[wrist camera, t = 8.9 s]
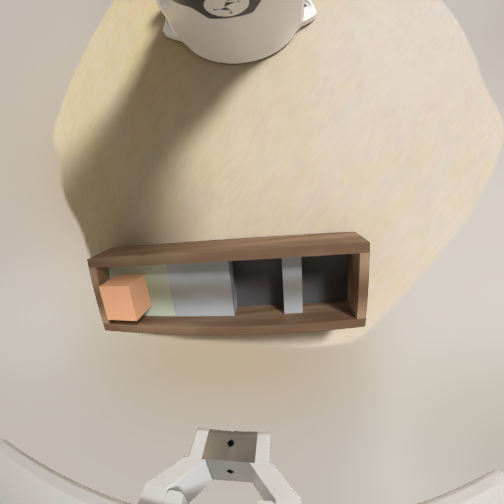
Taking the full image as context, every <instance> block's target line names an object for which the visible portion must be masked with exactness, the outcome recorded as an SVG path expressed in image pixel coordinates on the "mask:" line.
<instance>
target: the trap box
mask: <svg viewBox="0 0 504 504" xmlns="http://www.w3.org/2000/svg"><path fill="white" fill-rule="evenodd" d="M369 259H370V242H369V241H367V240H366V239H364V238H363V237H362V236H360V235H359V234H357V233H356V232H341V233H323V234H305V235H288V236H272V237H256V238H240V239H225V240H211V241H197V242H183V243H170V244H157V245H144V246H132V247H119V248H110V249H108V250H106V251H104V252H102V253H100V254H98V255H96V256H94V257H92V258H90V259H88V260H87V261H88V265H89V270H90V275H91V279H92V283H93V288H94V292H95V295H96V299H97V303H98V307H99V310H100V314H101V317H102V321H103V324H104V327H105V330H109V331H122V332H136V333H155V334H182V335H249V334H277V333H296V332H311V331H324V330H335V329H346V328H355V327H364V326H365V322H366V311H367V298H368V282H369ZM126 274H145V278H146V283H147V288H148V293H149V297H150V302H151V307H150V308H149V309H148V310H147V311H146V312H145V313H144V314H143V315H142V316H141V317H140V319H139V320H138V321H123V320H108V318H107V315H106V311H105V308H104V304H103V301H102V297H101V293H100V289H99V286H100V285H102V284H103V283H105V282H106V281H108V280H109V279H111V278H113V277H114V276H116V275H126Z"/></svg>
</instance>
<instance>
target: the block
mask: <svg viewBox="0 0 504 504" xmlns="http://www.w3.org/2000/svg"><path fill="white" fill-rule="evenodd" d="M99 289H100V293H101V297H102V301H103V304H104V308H105V311H106V315H107V318H108V320H123V321H138V320H139V319H140V317H141V316H142V315H143V314H144V313H145V312H146V311H147V310H148V309H149V308H150V307H151V302H150V297H149V293H148V288H147V283H146V278H145V274H126V275H116V276H114V277H113V278H111V279H109V280H108V281H106V282H105V283H103V284H102V285H100V286H99Z"/></svg>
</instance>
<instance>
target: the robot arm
mask: <svg viewBox="0 0 504 504" xmlns="http://www.w3.org/2000/svg"><path fill="white" fill-rule="evenodd" d="M157 4H158V6H159V8H160V9H161V11H162V13H163V14H164V16H165V18H166V19H165V23H164V26H163V32H164V34H165V36H166V37H168V38H170V39H174V40H177V41H181V42H183V43H184V44H186V45H187V46H188V47H189V48H190V49H191V50H192V51H193V52H194V53H196V54H197V55H199V56H201V57H203V58H205V59H208V60H211V61H214V62H219V63H228V64H237V63H247V62H252V61H256V60H260V59H263V58H265V57H268V56H270V55H272V54H274V53H276V52H277V51H279V50H280V49H282V48H283V47H284V46H285V45H286V44H287V43H288V42H289V41H290V40H291V39H292V38H293V36H294V35H295V33H296V32H297V31H298V29H300V28H301V27H303V26H305V25H307V24H308V23H310V22H312V21H313V20H314V19H315V18H316V9H315V7H314V5H313V3H312V2H311V0H157ZM304 6H305V7H304ZM212 479H216V480H229V481H241V482H253V484H254V486H255V487H256V489H257V490H258V492H259V493H260V495H261V496H262V498H263V500H264V501H259V502H257V503H256V504H301V499H300V497H299V496H298V495H297V494H296V493H295V491H294V490H293V489H292V488H291V487H290V485H289V484H288V483H287V482H286V480H285V479H284V478H283V477H282V475H281V474H280V473H279V471H278V470H277V469H276V468H275V467H274V465H273V464H272V463H271V433H270V432H242V431H241V432H240V431H234V432H232V431H221V430H211V429H202V428H199V429H198V430H197V431H196V434H195V437H194V441H193V444H192V447H191V450H190V453H189V456H188V457H186V456H185V457H184V458H182V459H181V460H179V461H178V462H177V463H175V464H174V465H172V466H171V467H170V468H168V469H167V470H165V471H164V472H162V473H161V474H159V475H158V476H157V477H155V478H153V479H152V480H150V481H149V482H147V483H146V485H145V488H144V490H143V493H142V495H141V497H140V500H139V502H138V504H189V502H190V501H191V500H192V499H193V498H195V497H196V496H197V495H198V494H199V493H200V492H201V491H202V490H203V489H204V488H205V487H206V486H207V485H208V484H209V483H210V482H211V481H212ZM0 504H130V503H127V502H124V501H121V500H118V499H115V498H113V497H110V496H107V495H105V494H102V493H100V492H98V491H95V490H92V489H90V488H88V487H86V486H84V485H81V484H79V483H77V482H75V481H73V480H71V479H69V478H67V477H65V476H63V475H61V474H59V473H57V472H56V471H54V470H52V469H50V468H48V467H47V466H45V465H43V464H41V463H39V462H38V461H36V460H35V459H33V458H31V457H30V456H28V455H27V454H25V453H24V452H22V451H21V450H19V449H17V448H16V447H15V446H13V445H12V444H10V443H9V442H8V441H6V440H3V439H1V440H0ZM418 504H504V472H501V471H498V470H494V471H491V472H489V473H487V474H485V475H483V476H481V477H480V478H478V479H476V480H474V481H472V482H470V483H468V484H465V485H463V486H461V487H459V488H457V489H455V490H452V491H450V492H447V493H445V494H443V495H440V496H438V497H435V498H432V499H430V500H427V501H424V502H421V503H418Z"/></svg>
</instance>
